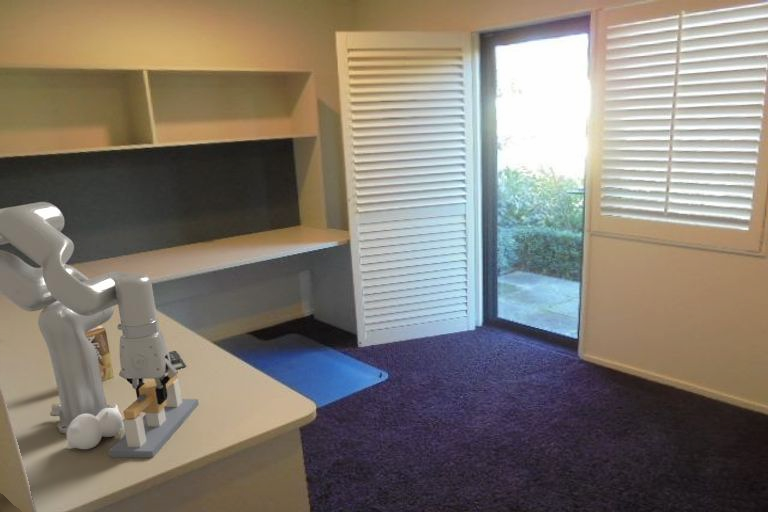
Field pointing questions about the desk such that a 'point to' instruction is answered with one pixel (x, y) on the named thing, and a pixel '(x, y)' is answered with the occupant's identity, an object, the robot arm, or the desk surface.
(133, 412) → the tan bar with handles
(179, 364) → the calculator
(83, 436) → the cat figurine
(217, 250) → the desk surface
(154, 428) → the display stand
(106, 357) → the candy box
